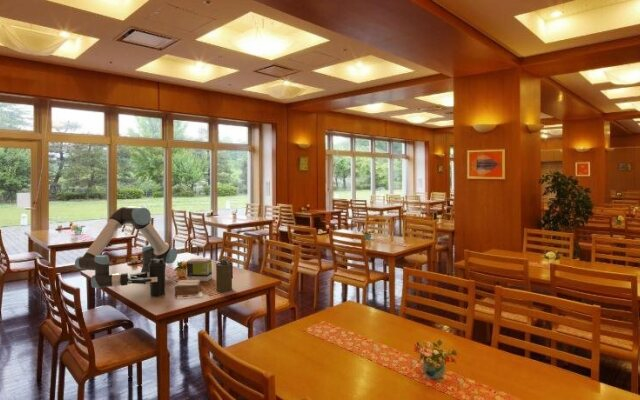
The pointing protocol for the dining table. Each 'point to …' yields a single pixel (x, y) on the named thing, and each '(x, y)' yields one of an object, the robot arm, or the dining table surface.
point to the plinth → (187, 287)
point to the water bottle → (157, 271)
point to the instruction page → (189, 296)
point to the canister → (224, 276)
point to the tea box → (199, 269)
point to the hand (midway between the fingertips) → (157, 276)
